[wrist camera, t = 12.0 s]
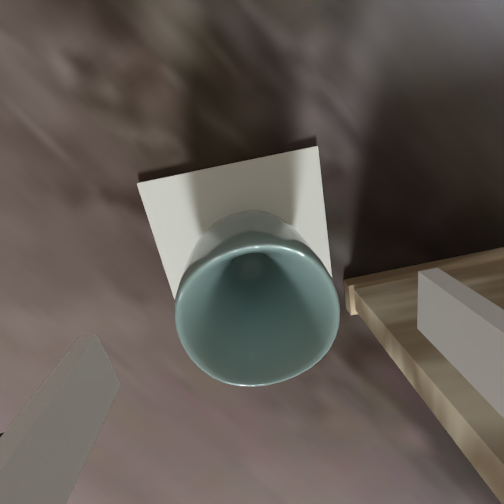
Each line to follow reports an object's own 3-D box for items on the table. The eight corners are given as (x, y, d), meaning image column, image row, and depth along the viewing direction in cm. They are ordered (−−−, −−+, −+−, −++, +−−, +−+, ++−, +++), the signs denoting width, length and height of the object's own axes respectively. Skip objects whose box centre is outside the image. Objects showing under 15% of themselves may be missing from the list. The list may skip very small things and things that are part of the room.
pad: (139, 182, 21) (136, 183, 21) (315, 146, 21) (317, 146, 21) (187, 331, 26) (186, 335, 25) (332, 301, 26) (335, 305, 25)
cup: (180, 219, 22) (142, 276, 12) (281, 184, 21) (320, 215, 12) (218, 306, 24) (210, 406, 15) (308, 276, 24) (357, 360, 15)
